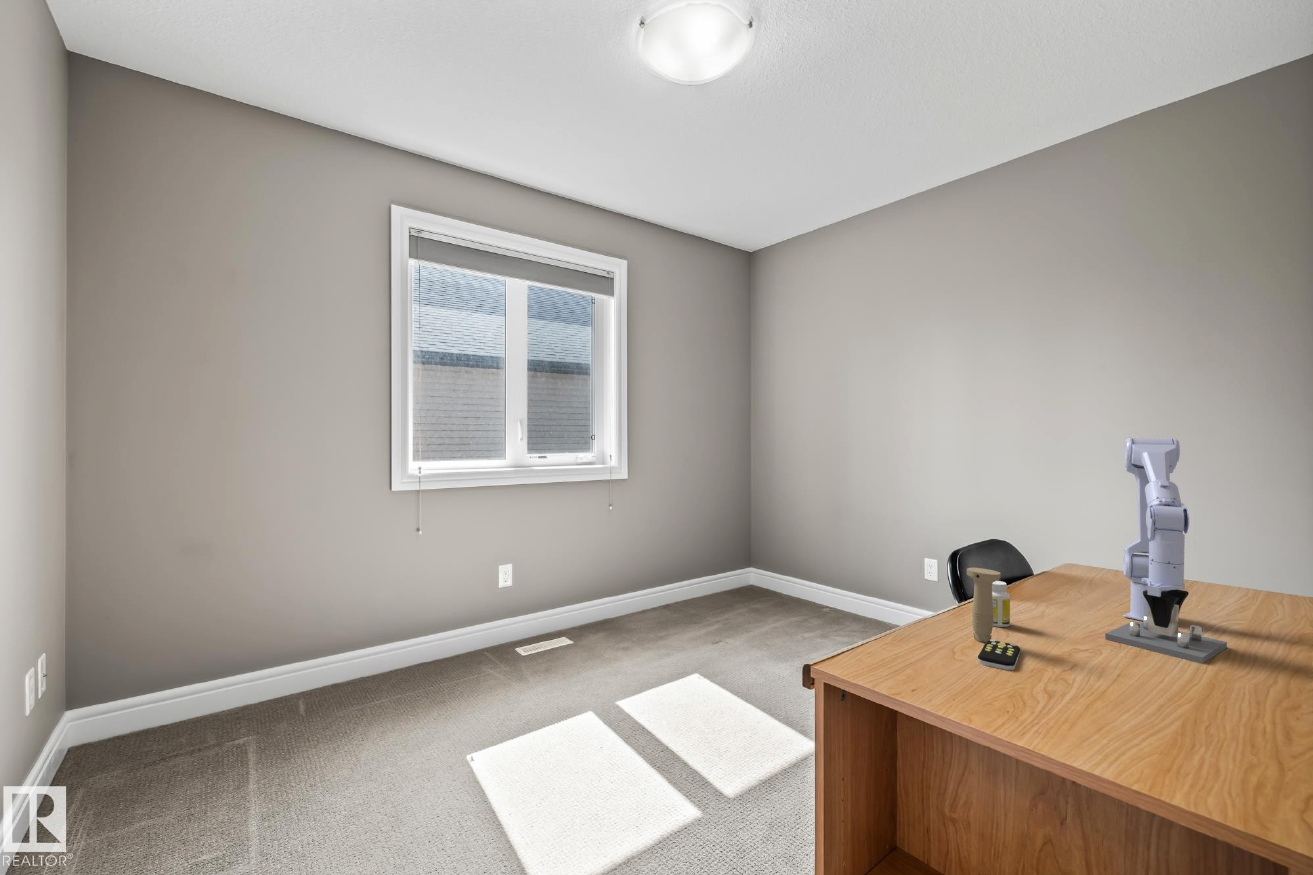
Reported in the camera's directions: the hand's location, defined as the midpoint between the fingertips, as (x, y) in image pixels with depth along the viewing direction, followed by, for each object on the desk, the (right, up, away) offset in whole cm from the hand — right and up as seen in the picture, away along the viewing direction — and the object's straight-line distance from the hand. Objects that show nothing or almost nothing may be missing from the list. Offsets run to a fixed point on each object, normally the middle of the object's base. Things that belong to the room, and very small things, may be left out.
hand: (1165, 624), depth 125 cm
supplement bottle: (-29, -4, +12) cm, 32 cm away
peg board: (0, -4, 0) cm, 4 cm away
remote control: (-41, -4, -9) cm, 42 cm away
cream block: (0, -2, 0) cm, 2 cm away
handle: (-39, -4, +1) cm, 39 cm away
